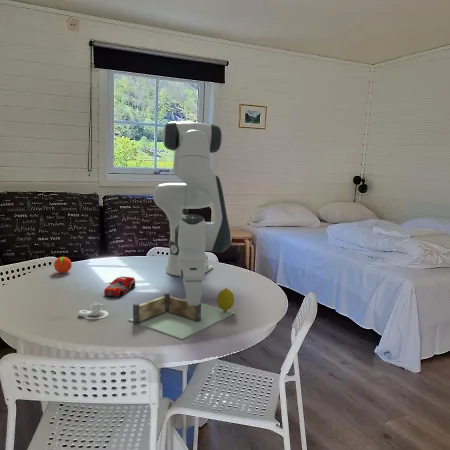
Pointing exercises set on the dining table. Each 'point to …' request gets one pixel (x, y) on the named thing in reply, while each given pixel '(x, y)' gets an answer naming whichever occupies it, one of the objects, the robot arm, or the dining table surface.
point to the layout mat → (184, 321)
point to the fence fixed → (150, 308)
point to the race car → (120, 286)
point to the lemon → (225, 299)
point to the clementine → (62, 264)
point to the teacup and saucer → (93, 311)
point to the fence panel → (184, 308)
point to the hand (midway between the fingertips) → (190, 308)
